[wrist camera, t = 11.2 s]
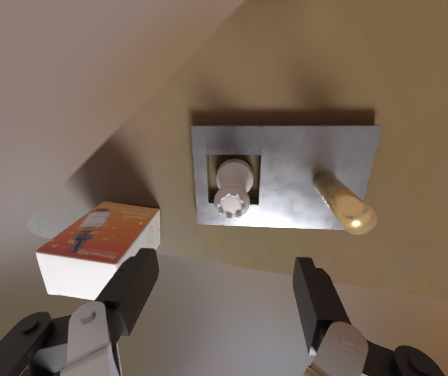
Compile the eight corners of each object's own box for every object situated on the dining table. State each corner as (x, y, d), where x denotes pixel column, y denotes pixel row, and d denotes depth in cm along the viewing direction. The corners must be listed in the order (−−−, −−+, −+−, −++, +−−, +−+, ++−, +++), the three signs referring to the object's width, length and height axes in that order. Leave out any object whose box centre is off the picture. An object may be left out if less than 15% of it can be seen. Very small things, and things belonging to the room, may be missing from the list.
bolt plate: (374, 124, 22) (457, 142, 14) (349, 223, 27) (399, 284, 18) (193, 124, 24) (164, 140, 15) (200, 217, 29) (180, 271, 20)
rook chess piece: (210, 166, 26) (196, 194, 18) (244, 151, 25) (245, 175, 17) (226, 197, 27) (219, 235, 20) (259, 184, 26) (265, 219, 19)
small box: (161, 207, 29) (118, 264, 19) (161, 241, 31) (123, 308, 21) (102, 199, 29) (31, 251, 19) (107, 233, 31) (45, 295, 22)
